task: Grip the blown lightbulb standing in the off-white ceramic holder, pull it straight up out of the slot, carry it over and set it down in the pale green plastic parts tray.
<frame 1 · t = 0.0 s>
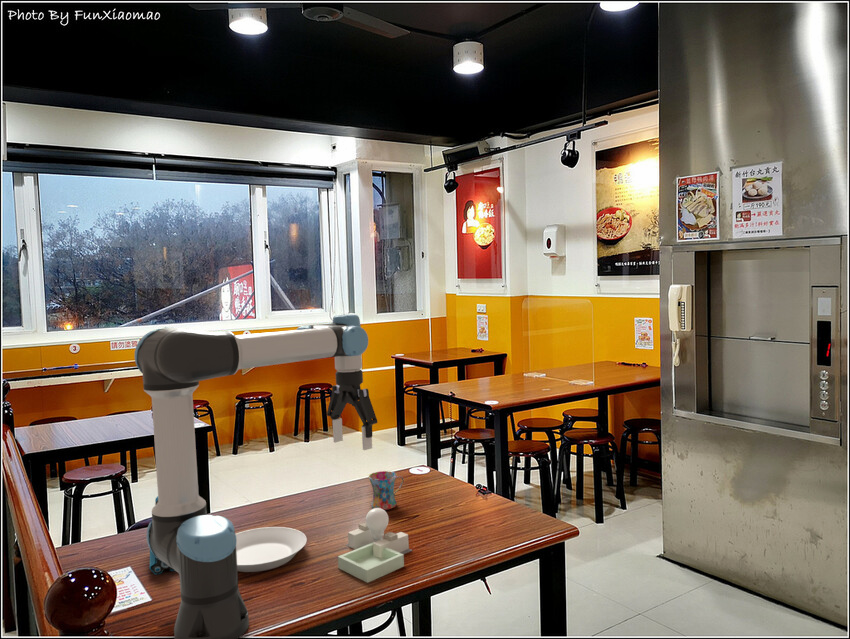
hand: (352, 445, 177), 28 cm above the table, fingers open, 13 cm apart
tray: (371, 567, 162), on the table
gun: (166, 556, 175), on the table
holder: (378, 547, 174), on the table
bowl: (260, 558, 172), on the table
mug: (387, 507, 207), on the table
lightbulb: (378, 548, 174), resting on holder
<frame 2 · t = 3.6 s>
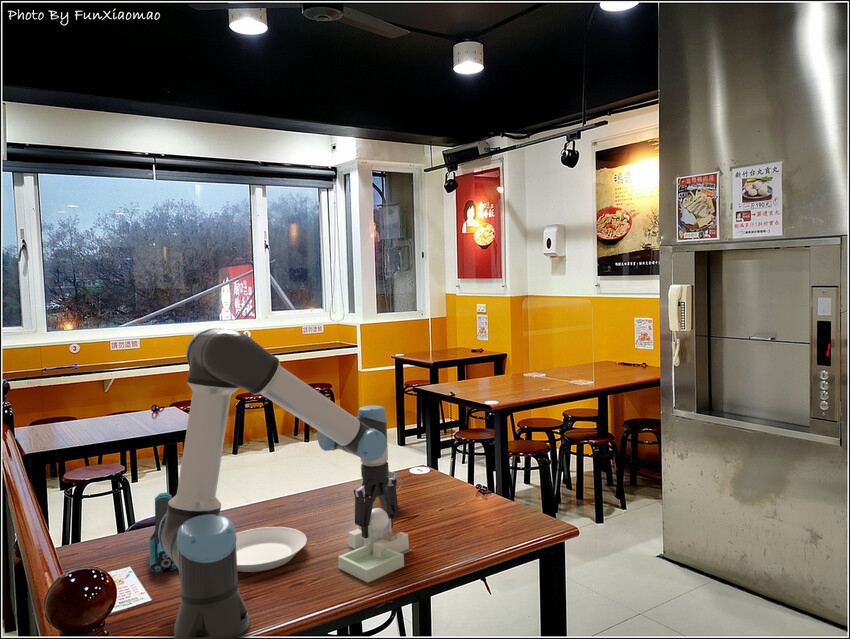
hand: (378, 544, 174), 1 cm above the table, fingers closed on lightbulb, 6 cm apart
lightbulb: (378, 548, 174), resting on holder, touching gripper
everything else where it was.
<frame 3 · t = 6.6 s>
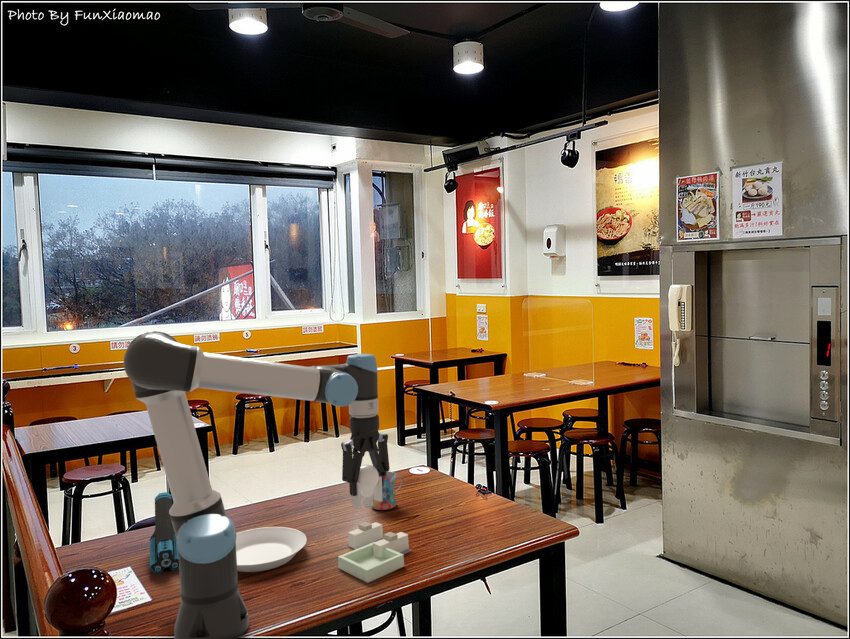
hand: (367, 503, 162), 17 cm above the table, fingers closed on lightbulb, 6 cm apart
lightbulb: (367, 507, 162), point 16 cm above the table, touching gripper
everything else where it was.
when the fingers open (3 cm above the table, at t = 9.8 s): lightbulb drops 2 cm, resting on tray.
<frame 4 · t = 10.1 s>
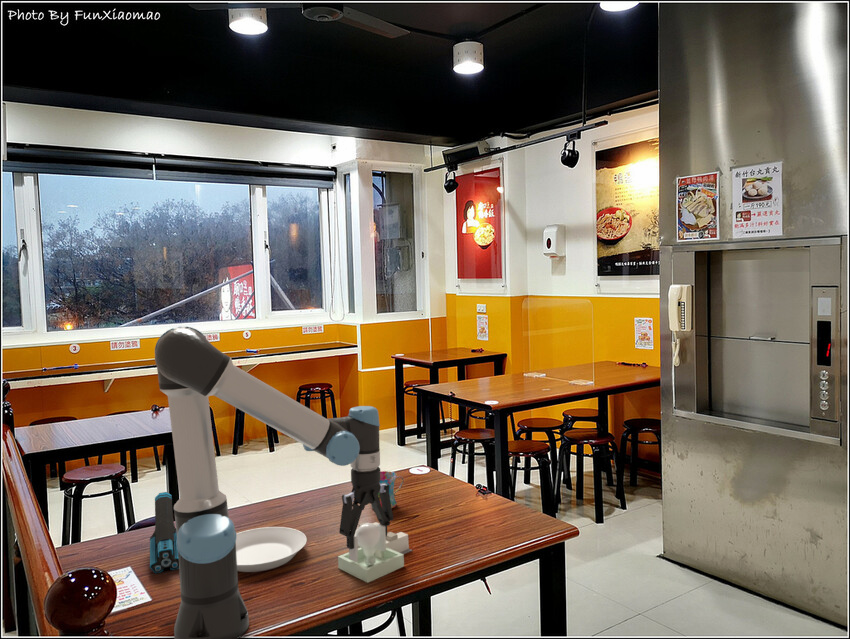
hand: (367, 554, 162), 4 cm above the table, fingers open, 8 cm apart
lightbulb: (370, 565, 162), resting on tray
everything else where it was.
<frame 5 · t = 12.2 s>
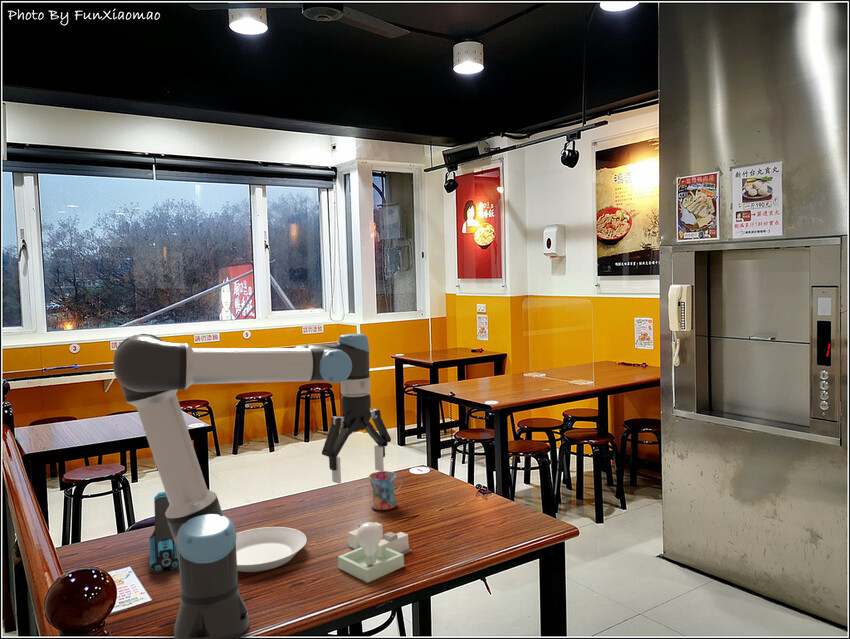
hand: (358, 476, 162), 24 cm above the table, fingers open, 13 cm apart
nothing on the table moved.
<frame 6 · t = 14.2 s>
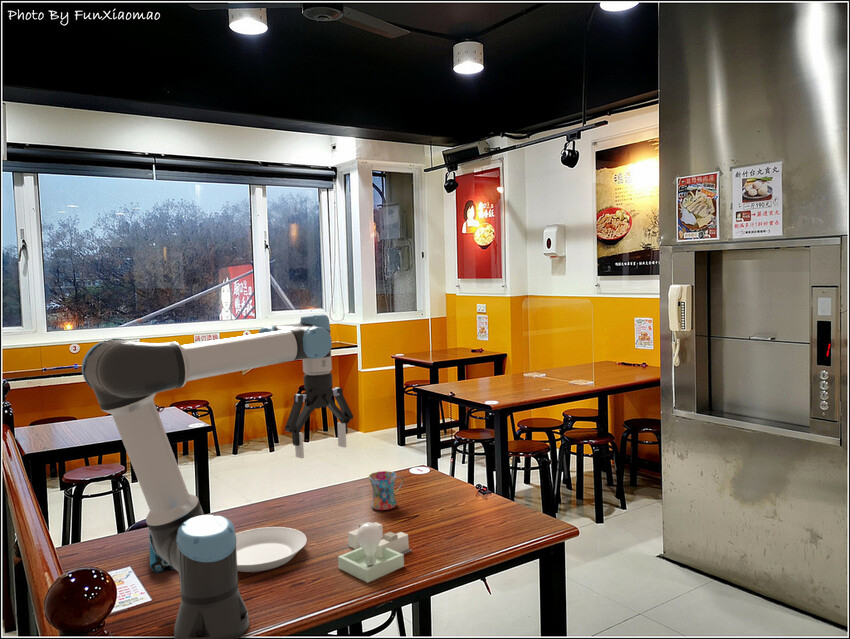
hand: (321, 451, 168), 29 cm above the table, fingers open, 13 cm apart
at the end: lightbulb inside the target area on the tray (0.2 cm from its centre), point 0.4 cm above the tray's base; the gripper is holding nothing; lightbulb inside the target area on the table beside the holder (43.0 cm from its centre), resting on tray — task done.
